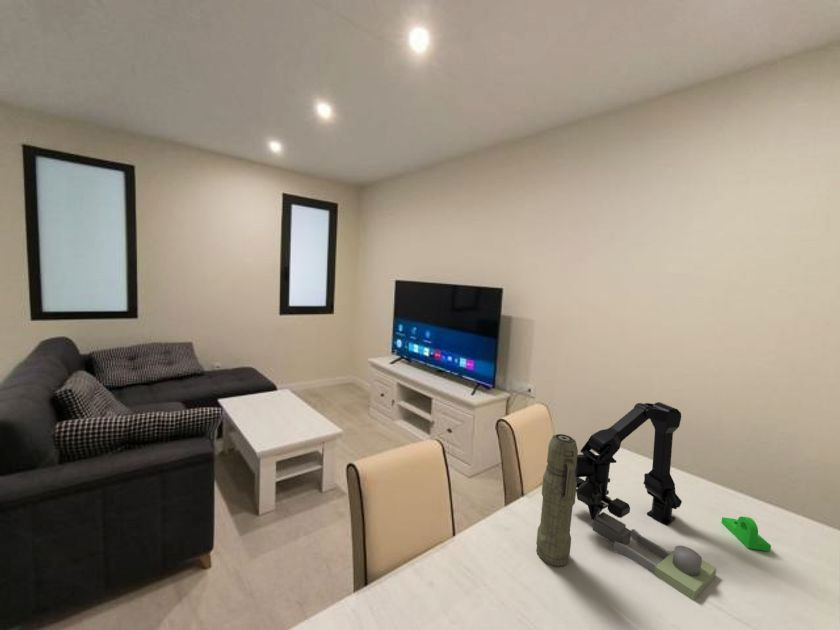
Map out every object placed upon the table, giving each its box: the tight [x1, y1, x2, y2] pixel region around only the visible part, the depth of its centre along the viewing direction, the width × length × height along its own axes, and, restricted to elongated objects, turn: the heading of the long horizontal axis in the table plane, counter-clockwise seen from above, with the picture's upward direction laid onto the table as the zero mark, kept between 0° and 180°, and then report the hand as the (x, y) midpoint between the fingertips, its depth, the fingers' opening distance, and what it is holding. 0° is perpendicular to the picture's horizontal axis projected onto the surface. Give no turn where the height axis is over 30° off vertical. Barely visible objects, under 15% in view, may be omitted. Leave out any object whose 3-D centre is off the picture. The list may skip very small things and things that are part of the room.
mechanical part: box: [720, 516, 772, 552], centre depth 115 cm, size 12×6×8 cm, turn 172°
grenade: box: [535, 433, 579, 569], centre depth 99 cm, size 9×12×35 cm
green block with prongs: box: [612, 528, 717, 601], centre depth 101 cm, size 16×20×6 cm
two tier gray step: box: [592, 511, 632, 546], centre depth 110 cm, size 5×9×5 cm, turn 35°
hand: (593, 519), depth 116 cm, fingers closed
